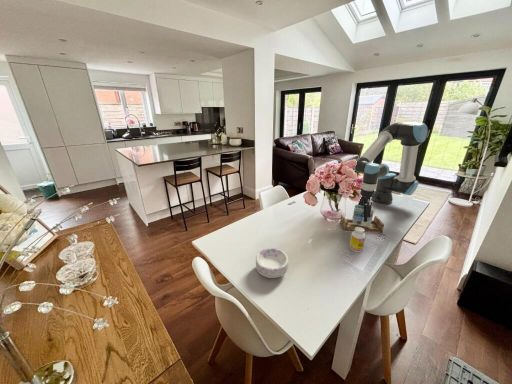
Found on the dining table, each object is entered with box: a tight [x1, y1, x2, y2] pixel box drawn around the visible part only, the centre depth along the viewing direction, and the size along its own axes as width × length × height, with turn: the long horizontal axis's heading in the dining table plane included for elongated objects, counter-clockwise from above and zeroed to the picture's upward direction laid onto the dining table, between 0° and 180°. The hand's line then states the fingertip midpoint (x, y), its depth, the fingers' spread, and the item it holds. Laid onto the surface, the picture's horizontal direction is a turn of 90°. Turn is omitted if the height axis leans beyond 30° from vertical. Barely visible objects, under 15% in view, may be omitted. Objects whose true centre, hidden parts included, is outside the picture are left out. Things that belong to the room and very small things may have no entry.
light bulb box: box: [351, 204, 375, 226], centre depth 133 cm, size 11×7×11 cm, turn 68°
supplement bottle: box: [349, 227, 366, 253], centre depth 113 cm, size 7×7×13 cm
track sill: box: [339, 213, 385, 234], centre depth 135 cm, size 11×22×6 cm, turn 83°
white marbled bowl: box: [255, 247, 289, 279], centre depth 99 cm, size 15×15×8 cm
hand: (361, 222), depth 135 cm, fingers closed on light bulb box, 8 cm apart
